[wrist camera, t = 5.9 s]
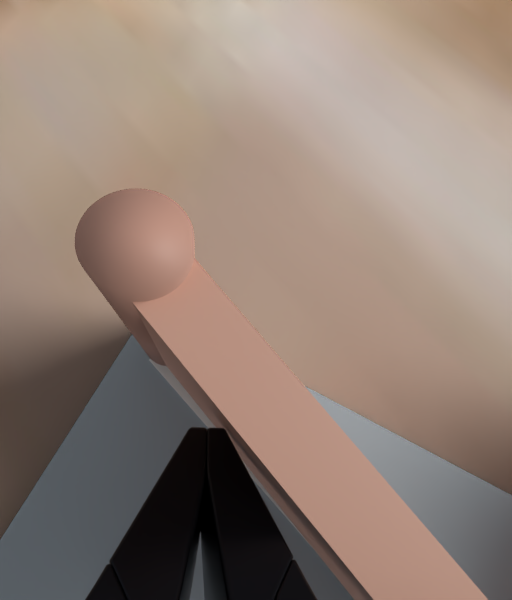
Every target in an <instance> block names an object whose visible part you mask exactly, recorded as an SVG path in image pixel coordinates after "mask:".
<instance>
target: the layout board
mask: <svg viewBox="0 0 512 600" xmlns="http://www.w3.org/2000/svg"><path fill="white" fill-rule="evenodd" d="M305 387H306V386H305ZM306 388H307V387H306ZM307 389H308V391H309V392H310V393H311V394H312V395H313V396H314V398H315V399H316V400H317V401H318V402H319V403H320V404H321V406H322V407H323V408H324V409H325V410H326V411H327V413H328V414H329V415H330V416H331V417H332V418H333V420H334V421H335V422H336V423H337V424H338V425H339V427H340V428H341V429H342V430H343V431H344V432H345V434H346V435H347V436H348V437H349V438H350V439H351V441H352V442H353V443H354V444H355V445H356V446H357V448H358V449H359V450H360V451H361V452H362V453H363V455H364V456H365V457H366V458H367V459H368V460H369V461H370V463H371V464H372V465H373V466H374V467H375V468H376V470H377V471H378V472H379V473H380V474H381V475H382V477H383V478H384V479H385V480H386V481H387V482H388V484H389V485H390V486H391V487H392V488H393V489H394V491H395V492H396V493H397V494H398V495H399V496H400V498H401V499H402V500H403V501H404V502H405V503H406V505H407V506H408V507H409V508H410V509H411V510H412V512H413V513H414V514H415V515H416V516H417V517H418V518H419V520H420V521H421V522H422V523H423V524H424V525H425V527H426V528H427V529H428V530H429V531H430V532H431V534H432V535H433V536H434V537H435V538H436V539H437V541H438V542H439V543H440V544H441V545H442V546H443V548H444V549H445V550H446V551H447V552H448V553H449V555H450V556H451V557H452V558H453V559H454V560H455V562H456V563H457V564H458V565H459V566H460V567H461V568H462V570H463V571H464V572H465V573H466V574H467V575H468V577H469V578H470V579H471V580H472V581H473V582H474V584H475V585H476V586H477V587H478V588H479V589H480V591H481V592H482V593H483V594H484V595H485V596H486V598H487V599H488V600H512V495H510V494H508V493H507V492H505V491H503V490H501V489H499V488H497V487H495V486H493V485H491V484H490V483H488V482H486V481H484V480H482V479H480V478H478V477H476V476H474V475H472V474H471V473H469V472H467V471H465V470H463V469H461V468H459V467H457V466H455V465H453V464H452V463H450V462H448V461H446V460H444V459H442V458H440V457H438V456H436V455H435V454H433V453H431V452H429V451H427V450H425V449H423V448H421V447H419V446H417V445H416V444H414V443H412V442H410V441H408V440H406V439H404V438H402V437H400V436H398V435H397V434H395V433H393V432H391V431H389V430H387V429H385V428H383V427H381V426H380V425H378V424H376V423H374V422H372V421H370V420H368V419H366V418H364V417H362V416H361V415H359V414H357V413H355V412H353V411H351V410H349V409H347V408H345V407H344V406H342V405H340V404H338V403H336V402H334V401H332V400H330V399H328V398H326V397H325V396H323V395H321V394H319V393H317V392H315V391H313V390H311V389H309V388H307ZM191 427H205V428H207V429H208V428H216V427H215V426H214V424H213V423H212V422H211V421H210V419H209V418H208V417H207V416H206V415H205V413H204V412H203V411H202V410H201V408H200V407H199V406H198V405H197V403H196V402H195V401H194V400H193V398H192V397H191V396H190V395H189V393H188V392H187V391H186V390H185V388H184V387H183V386H182V385H181V383H180V382H179V381H178V380H177V378H176V377H175V376H174V375H173V373H172V372H171V371H170V370H169V368H168V367H167V366H163V365H159V364H157V363H155V362H154V361H153V360H151V359H150V357H149V356H148V355H147V354H146V352H145V351H144V349H143V348H142V347H141V345H140V344H139V343H138V341H137V340H136V339H135V337H134V336H133V335H131V336H130V338H129V340H128V341H127V343H126V344H125V346H124V347H123V349H122V350H121V352H120V354H119V355H118V357H117V358H116V360H115V361H114V363H113V365H112V366H111V368H110V369H109V371H108V372H107V374H106V375H105V377H104V379H103V380H102V382H101V383H100V385H99V386H98V388H97V390H96V391H95V393H94V394H93V396H92V397H91V399H90V400H89V402H88V404H87V405H86V407H85V408H84V410H83V411H82V413H81V415H80V416H79V418H78V419H77V421H76V422H75V424H74V425H73V427H72V429H71V430H70V432H69V433H68V435H67V436H66V438H65V439H64V441H63V443H62V444H61V446H60V447H59V449H58V450H57V452H56V454H55V455H54V457H53V458H52V460H51V461H50V463H49V464H48V466H47V468H46V469H45V471H44V472H43V474H42V475H41V477H40V479H39V480H38V482H37V483H36V485H35V486H34V488H33V489H32V491H31V493H30V494H29V496H28V497H27V499H26V500H25V502H24V504H23V505H22V507H21V508H20V510H19V511H18V513H17V514H16V516H15V518H14V519H13V521H12V522H11V524H10V525H9V527H8V529H7V530H6V532H5V533H4V535H3V536H2V538H1V539H0V600H85V599H86V597H87V596H88V594H89V592H90V591H91V589H92V588H93V586H94V585H95V583H96V581H97V580H98V578H99V576H100V575H101V573H102V571H103V570H104V568H105V566H106V565H107V564H109V560H110V558H111V557H112V555H113V553H114V552H115V550H116V548H117V547H118V545H119V543H120V542H121V540H122V538H123V537H124V535H125V534H126V532H127V530H128V529H129V527H130V525H131V524H132V522H133V520H134V519H135V517H136V515H137V514H138V512H139V510H140V509H141V507H142V505H143V504H144V502H145V500H146V499H147V497H148V495H149V494H150V492H151V490H152V489H153V487H154V485H155V484H156V482H157V480H158V479H159V477H160V475H161V474H162V472H163V470H164V469H165V467H166V465H167V464H168V462H169V460H170V459H171V457H172V455H173V454H174V452H175V451H176V449H177V447H178V446H179V444H180V442H181V441H182V439H183V437H184V436H185V434H186V432H187V431H188V429H189V428H191ZM243 463H244V462H243ZM244 465H245V467H246V469H247V471H248V473H249V474H250V476H251V478H252V480H253V482H254V484H255V486H256V487H257V489H258V491H259V493H260V495H261V497H262V499H263V500H264V502H265V504H266V506H267V508H268V510H269V512H270V514H271V515H272V517H273V519H274V521H275V523H276V525H277V527H278V528H279V530H280V532H281V534H282V536H283V538H284V540H285V541H286V543H287V545H288V547H289V549H290V551H291V553H292V555H293V560H296V562H297V563H298V565H299V567H300V569H301V571H302V573H303V575H304V577H305V578H306V580H307V582H308V584H309V585H310V587H311V589H312V591H313V592H314V594H315V596H316V598H317V599H318V600H354V599H353V598H352V596H351V595H350V594H349V593H348V591H347V590H346V589H345V588H344V586H343V585H342V584H341V583H340V581H339V580H338V579H337V578H336V576H335V575H334V574H333V573H332V571H331V570H330V569H329V568H328V566H327V565H326V564H325V563H324V561H323V560H322V559H321V558H320V556H319V555H318V554H317V553H316V551H315V550H314V549H313V548H312V546H311V545H310V544H309V543H308V541H307V540H306V539H305V538H304V537H303V535H302V534H301V533H300V532H299V530H298V529H297V528H296V527H295V525H294V524H293V523H292V522H291V520H290V519H289V518H288V517H287V515H286V514H285V513H284V512H283V510H282V509H281V508H280V507H279V505H278V504H277V503H276V502H275V500H274V499H273V498H272V497H271V495H270V494H269V493H268V492H267V490H266V489H265V488H264V487H263V485H262V484H261V483H260V482H259V480H258V479H257V478H256V477H255V476H254V474H253V473H252V472H251V471H250V469H249V468H248V467H247V466H246V464H245V463H244ZM190 600H204V583H203V567H202V550H201V532H200V539H199V546H198V552H197V558H196V564H195V570H194V576H193V582H192V588H191V594H190Z"/></svg>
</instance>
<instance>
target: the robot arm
mask: <svg viewBox="0 0 512 600" xmlns="http://www.w3.org/2000/svg"><path fill="white" fill-rule="evenodd" d="M200 532H201V550H202V567H203V583H204V600H318V599H317V598H316V596H315V594H314V592H313V591H312V589H311V587H310V585H309V584H308V582H307V580H306V578H305V577H304V575H303V573H302V571H301V569H300V567H299V565H298V563H297V562H296V560H293V555H292V553H291V551H290V549H289V547H288V545H287V543H286V541H285V540H284V538H283V536H282V534H281V532H280V530H279V528H278V527H277V525H276V523H275V521H274V519H273V517H272V515H271V514H270V512H269V510H268V508H267V506H266V504H265V502H264V500H263V499H262V497H261V495H260V493H259V491H258V489H257V487H256V486H255V484H254V482H253V480H252V478H251V476H250V474H249V473H248V471H247V469H246V467H245V465H244V463H243V461H242V459H241V458H240V456H239V454H238V452H237V450H236V448H235V446H234V445H233V443H232V441H231V439H230V437H229V435H228V433H227V432H226V430H225V429H224V428H208V429H207V428H205V427H191V428H189V429H188V431H187V432H186V434H185V436H184V437H183V439H182V441H181V442H180V444H179V446H178V447H177V449H176V451H175V452H174V454H173V455H172V457H171V459H170V460H169V462H168V464H167V465H166V467H165V469H164V470H163V472H162V474H161V475H160V477H159V479H158V480H157V482H156V484H155V485H154V487H153V489H152V490H151V492H150V494H149V495H148V497H147V499H146V500H145V502H144V504H143V505H142V507H141V509H140V510H139V512H138V514H137V515H136V517H135V519H134V520H133V522H132V524H131V525H130V527H129V529H128V530H127V532H126V534H125V535H124V537H123V538H122V540H121V542H120V543H119V545H118V547H117V548H116V550H115V552H114V553H113V555H112V557H111V558H110V560H109V564H107V565H106V566H105V568H104V570H103V571H102V573H101V575H100V576H99V578H98V580H97V581H96V583H95V585H94V586H93V588H92V589H91V591H90V592H89V594H88V596H87V597H86V599H85V600H190V594H191V588H192V582H193V576H194V570H195V564H196V558H197V552H198V546H199V539H200Z"/></svg>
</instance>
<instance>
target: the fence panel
mask: <svg viewBox="0 0 512 600" xmlns="http://www.w3.org/2000/svg"><path fill="white" fill-rule="evenodd" d="M75 249H76V254H77V257H78V260H79V262H80V264H81V265H82V267H83V268H84V270H85V271H86V273H87V274H88V275H89V277H90V278H91V279H92V281H93V282H94V283H95V285H96V286H97V287H98V289H99V290H100V291H101V293H102V294H103V296H104V297H105V298H106V300H107V301H108V302H109V304H110V305H111V306H112V308H113V309H114V310H115V312H116V313H117V314H118V316H119V317H120V318H121V320H122V321H123V323H124V324H125V325H126V327H127V328H128V329H129V331H130V332H131V333H132V335H133V336H134V337H135V339H136V340H137V341H138V343H139V344H140V345H141V347H142V348H143V349H144V351H145V352H146V354H147V355H148V356H149V357H150V359H151V360H153V361H154V362H155V363H157V364H159V365H163V366H167V367H168V368H169V370H170V371H171V372H172V373H173V375H174V376H175V377H176V378H177V380H178V381H179V382H180V383H181V385H182V386H183V387H184V388H185V390H186V391H187V392H188V393H189V395H190V396H191V397H192V398H193V400H194V401H195V402H196V403H197V405H198V406H199V407H200V408H201V410H202V411H203V412H204V413H205V415H206V416H207V417H208V418H209V419H210V421H211V422H212V423H213V424H214V426H215V427H216V428H224V429H225V430H226V432H227V433H228V435H229V437H230V439H231V441H232V443H233V445H234V446H235V448H236V450H237V452H238V454H239V456H240V458H241V459H242V461H243V462H244V463H245V464H246V466H247V467H248V468H249V469H250V471H251V472H252V473H253V474H254V476H255V477H256V478H257V479H258V480H259V482H260V483H261V484H262V485H263V487H264V488H265V489H266V490H267V492H268V493H269V494H270V495H271V497H272V498H273V499H274V500H275V502H276V503H277V504H278V505H279V507H280V508H281V509H282V510H283V512H284V513H285V514H286V515H287V517H288V518H289V519H290V520H291V522H292V523H293V524H294V525H295V527H296V528H297V529H298V530H299V532H300V533H301V534H302V535H303V537H304V538H305V539H306V540H307V541H308V543H309V544H310V545H311V546H312V548H313V549H314V550H315V551H316V553H317V554H318V555H319V556H320V558H321V559H322V560H323V561H324V563H325V564H326V565H327V566H328V568H329V569H330V570H331V571H332V573H333V574H334V575H335V576H336V578H337V579H338V580H339V581H340V583H341V584H342V585H343V586H344V588H345V589H346V590H347V591H348V593H349V594H350V595H351V596H352V598H353V599H354V600H488V599H487V598H486V596H485V595H484V594H483V593H482V592H481V591H480V589H479V588H478V587H477V586H476V585H475V584H474V582H473V581H472V580H471V579H470V578H469V577H468V575H467V574H466V573H465V572H464V571H463V570H462V568H461V567H460V566H459V565H458V564H457V563H456V562H455V560H454V559H453V558H452V557H451V556H450V555H449V553H448V552H447V551H446V550H445V549H444V548H443V546H442V545H441V544H440V543H439V542H438V541H437V539H436V538H435V537H434V536H433V535H432V534H431V532H430V531H429V530H428V529H427V528H426V527H425V525H424V524H423V523H422V522H421V521H420V520H419V518H418V517H417V516H416V515H415V514H414V513H413V512H412V510H411V509H410V508H409V507H408V506H407V505H406V503H405V502H404V501H403V500H402V499H401V498H400V496H399V495H398V494H397V493H396V492H395V491H394V489H393V488H392V487H391V486H390V485H389V484H388V482H387V481H386V480H385V479H384V478H383V477H382V475H381V474H380V473H379V472H378V471H377V470H376V468H375V467H374V466H373V465H372V464H371V463H370V461H369V460H368V459H367V458H366V457H365V456H364V455H363V453H362V452H361V451H360V450H359V449H358V448H357V446H356V445H355V444H354V443H353V442H352V441H351V439H350V438H349V437H348V436H347V435H346V434H345V432H344V431H343V430H342V429H341V428H340V427H339V425H338V424H337V423H336V422H335V421H334V420H333V418H332V417H331V416H330V415H329V414H328V413H327V411H326V410H325V409H324V408H323V407H322V406H321V404H320V403H319V402H318V401H317V400H316V399H315V398H314V396H313V395H312V394H311V393H310V392H309V391H308V389H307V388H306V387H305V386H304V385H303V384H302V382H301V381H300V380H299V379H298V378H297V377H296V375H295V374H294V373H293V372H292V371H291V370H290V368H289V367H288V366H287V365H286V364H285V363H284V361H283V360H282V359H281V358H280V357H279V356H278V354H277V353H276V352H275V351H274V350H273V349H272V347H271V346H270V345H269V344H268V343H267V342H266V341H265V339H264V338H263V337H262V336H261V335H260V334H259V332H258V331H257V330H256V329H255V328H254V327H253V325H252V324H251V323H250V322H249V321H248V320H247V318H246V317H245V316H244V315H243V314H242V313H241V311H240V310H239V309H238V308H237V307H236V306H235V304H234V303H233V302H232V301H231V300H230V299H229V297H228V296H227V295H226V294H225V293H224V292H223V291H222V289H221V288H220V287H219V286H218V285H217V284H216V282H215V281H214V280H213V279H212V278H211V277H210V275H209V274H208V273H207V272H206V271H205V270H204V268H203V267H202V266H201V265H200V264H199V263H198V261H197V260H196V259H195V237H194V230H193V226H192V223H191V221H190V219H189V217H188V215H187V214H186V212H185V211H184V210H183V208H182V207H181V206H180V205H179V204H177V203H176V202H175V201H174V200H172V199H171V198H169V197H167V196H166V195H163V194H161V193H159V192H155V191H152V190H147V189H125V190H120V191H116V192H113V193H110V194H108V195H106V196H104V197H102V198H100V199H99V200H97V201H96V202H95V203H94V204H92V205H91V206H90V207H89V208H88V209H87V211H86V212H85V213H84V215H83V216H82V218H81V220H80V222H79V224H78V226H77V229H76V234H75Z"/></svg>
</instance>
